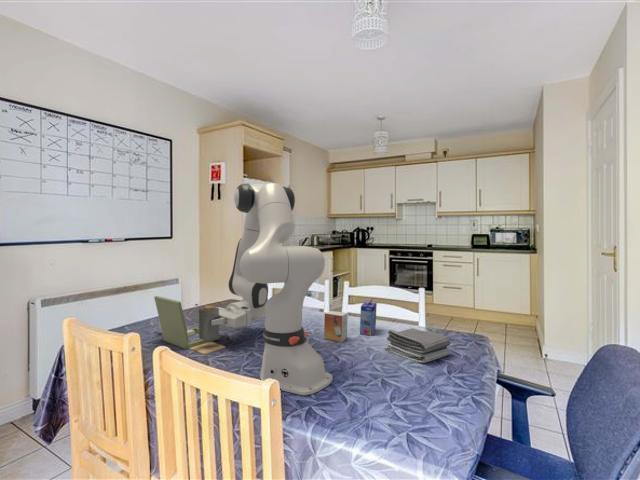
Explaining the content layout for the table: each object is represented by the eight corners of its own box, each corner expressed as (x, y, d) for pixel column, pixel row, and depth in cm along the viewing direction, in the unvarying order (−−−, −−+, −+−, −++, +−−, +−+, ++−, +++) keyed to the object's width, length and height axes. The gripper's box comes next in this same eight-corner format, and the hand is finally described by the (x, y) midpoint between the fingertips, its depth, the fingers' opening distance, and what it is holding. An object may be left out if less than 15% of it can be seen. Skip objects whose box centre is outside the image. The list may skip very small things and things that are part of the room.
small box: (323, 339, 135) (323, 313, 135) (329, 335, 140) (330, 310, 140) (342, 342, 131) (342, 315, 131) (347, 338, 136) (347, 312, 136)
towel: (425, 367, 109) (426, 343, 109) (382, 350, 124) (383, 329, 123) (451, 356, 118) (452, 334, 118) (408, 342, 133) (409, 322, 133)
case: (220, 338, 135) (220, 294, 134) (178, 351, 121) (178, 302, 120) (195, 330, 145) (195, 289, 145) (154, 341, 131) (154, 296, 130)
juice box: (372, 336, 139) (373, 301, 139) (359, 334, 141) (359, 300, 141) (376, 329, 149) (376, 296, 148) (364, 328, 150) (364, 295, 150)
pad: (225, 347, 125) (225, 346, 125) (204, 354, 118) (204, 353, 118) (211, 342, 130) (211, 341, 130) (189, 349, 123) (190, 347, 123)
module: (219, 337, 125) (218, 306, 125) (207, 341, 121) (207, 309, 121) (210, 334, 128) (210, 304, 128) (199, 338, 124) (199, 307, 124)
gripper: (219, 301, 140) (189, 308, 129) (253, 309, 128) (222, 317, 117) (220, 316, 141) (189, 324, 130) (253, 326, 128) (222, 335, 117)
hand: (205, 321), depth 123 cm, fingers closed on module, 5 cm apart
